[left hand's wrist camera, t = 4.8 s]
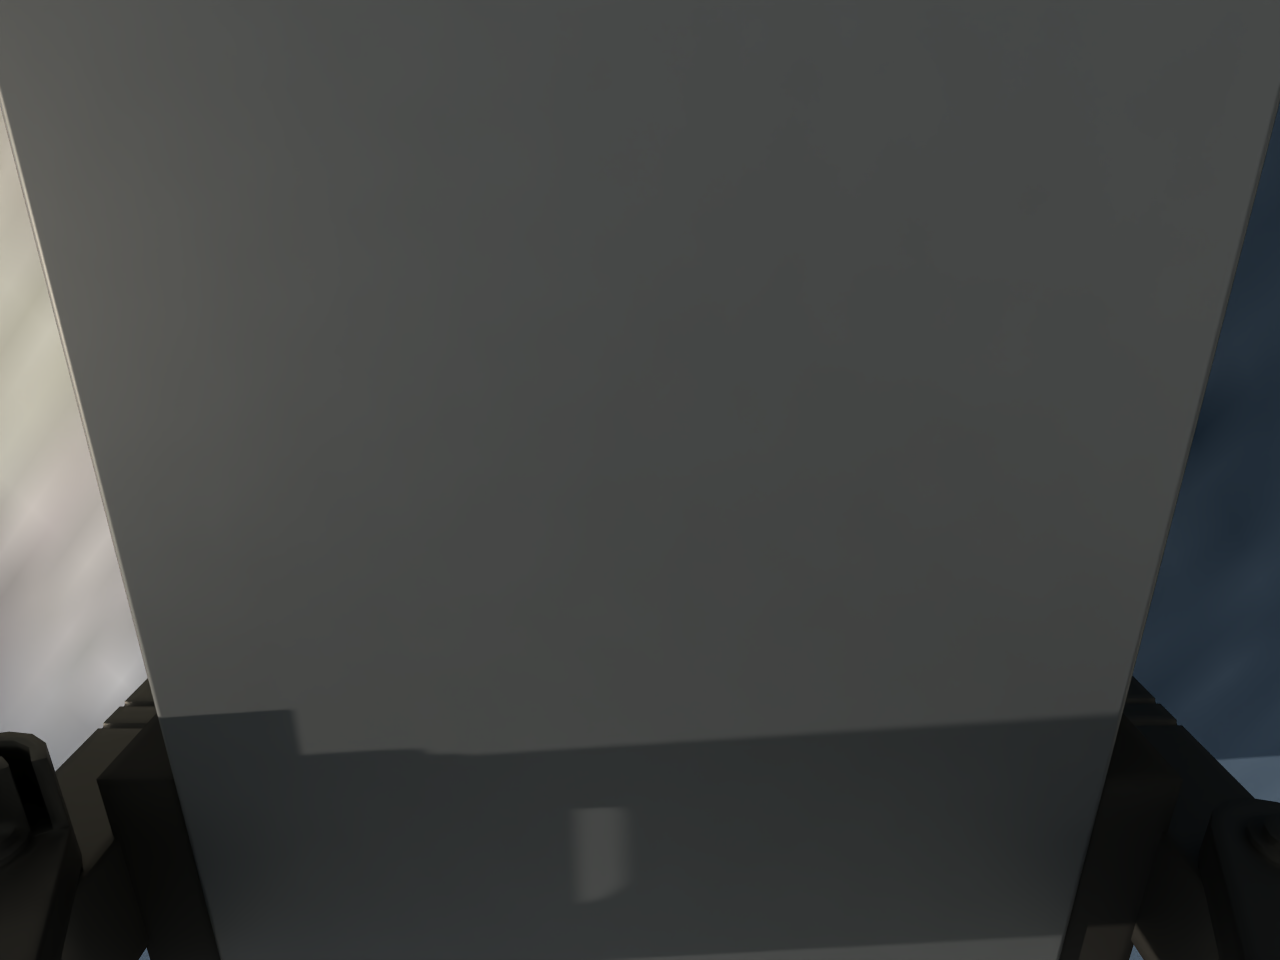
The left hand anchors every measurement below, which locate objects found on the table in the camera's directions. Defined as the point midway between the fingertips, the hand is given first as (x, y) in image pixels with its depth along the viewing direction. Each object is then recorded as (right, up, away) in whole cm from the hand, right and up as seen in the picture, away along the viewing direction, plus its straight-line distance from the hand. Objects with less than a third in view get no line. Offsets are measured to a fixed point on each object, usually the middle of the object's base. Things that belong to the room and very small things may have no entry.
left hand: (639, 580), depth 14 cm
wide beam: (0, +24, -8) cm, 25 cm away
